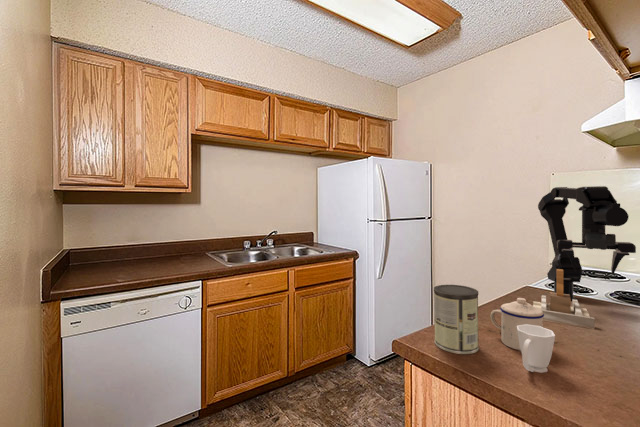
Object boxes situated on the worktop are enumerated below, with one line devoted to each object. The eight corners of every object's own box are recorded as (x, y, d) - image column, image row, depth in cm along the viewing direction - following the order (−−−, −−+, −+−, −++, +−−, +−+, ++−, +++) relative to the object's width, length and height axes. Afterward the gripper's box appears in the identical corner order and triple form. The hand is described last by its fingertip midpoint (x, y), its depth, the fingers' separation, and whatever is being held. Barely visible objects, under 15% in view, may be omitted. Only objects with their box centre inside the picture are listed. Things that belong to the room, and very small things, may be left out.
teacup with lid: (550, 346, 75) (550, 299, 74) (534, 357, 70) (534, 306, 69) (499, 330, 85) (499, 289, 84) (482, 338, 80) (482, 294, 79)
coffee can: (442, 333, 83) (442, 282, 83) (483, 344, 76) (483, 288, 76) (427, 345, 76) (426, 289, 76) (471, 359, 69) (470, 297, 69)
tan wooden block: (549, 307, 99) (549, 267, 99) (569, 310, 96) (569, 269, 96) (550, 311, 95) (550, 270, 95) (570, 314, 92) (570, 272, 92)
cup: (559, 368, 65) (560, 330, 65) (545, 385, 58) (545, 344, 58) (522, 356, 70) (522, 321, 70) (505, 370, 64) (505, 333, 64)
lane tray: (533, 305, 106) (533, 294, 106) (586, 313, 97) (586, 301, 97) (531, 323, 90) (531, 309, 90) (594, 334, 81) (595, 319, 81)
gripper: (558, 225, 98) (558, 272, 98) (640, 226, 87) (640, 280, 87) (557, 223, 107) (556, 267, 107) (631, 224, 96) (631, 273, 96)
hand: (593, 271), depth 99 cm, fingers open, 9 cm apart
